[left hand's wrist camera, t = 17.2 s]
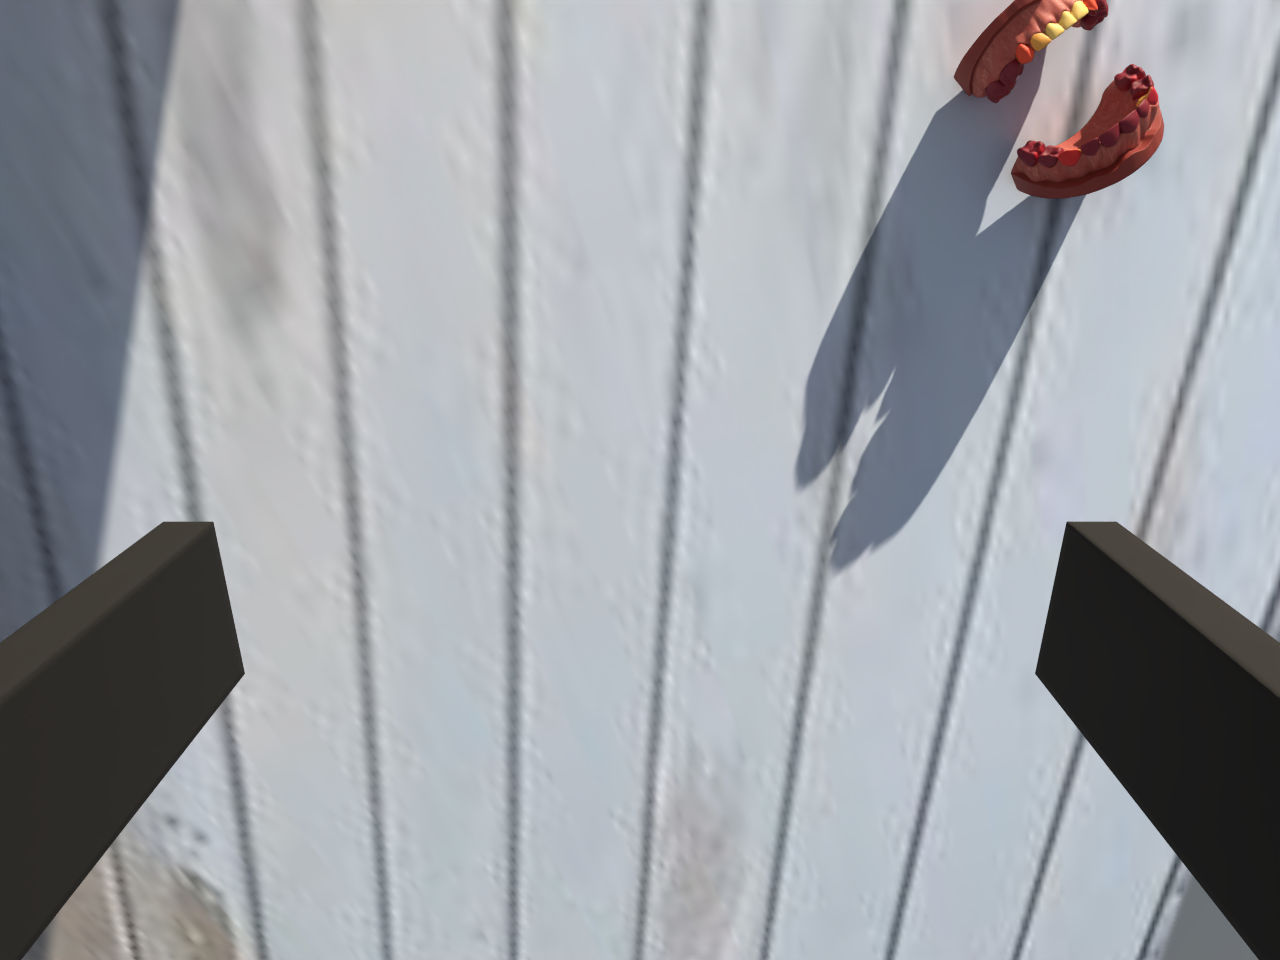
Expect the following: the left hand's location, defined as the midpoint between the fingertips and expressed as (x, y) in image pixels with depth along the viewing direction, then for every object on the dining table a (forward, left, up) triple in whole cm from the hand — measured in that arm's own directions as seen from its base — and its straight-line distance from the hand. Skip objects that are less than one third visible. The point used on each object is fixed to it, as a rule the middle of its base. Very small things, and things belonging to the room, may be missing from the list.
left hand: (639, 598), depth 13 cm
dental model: (+14, +13, -26) cm, 32 cm away
